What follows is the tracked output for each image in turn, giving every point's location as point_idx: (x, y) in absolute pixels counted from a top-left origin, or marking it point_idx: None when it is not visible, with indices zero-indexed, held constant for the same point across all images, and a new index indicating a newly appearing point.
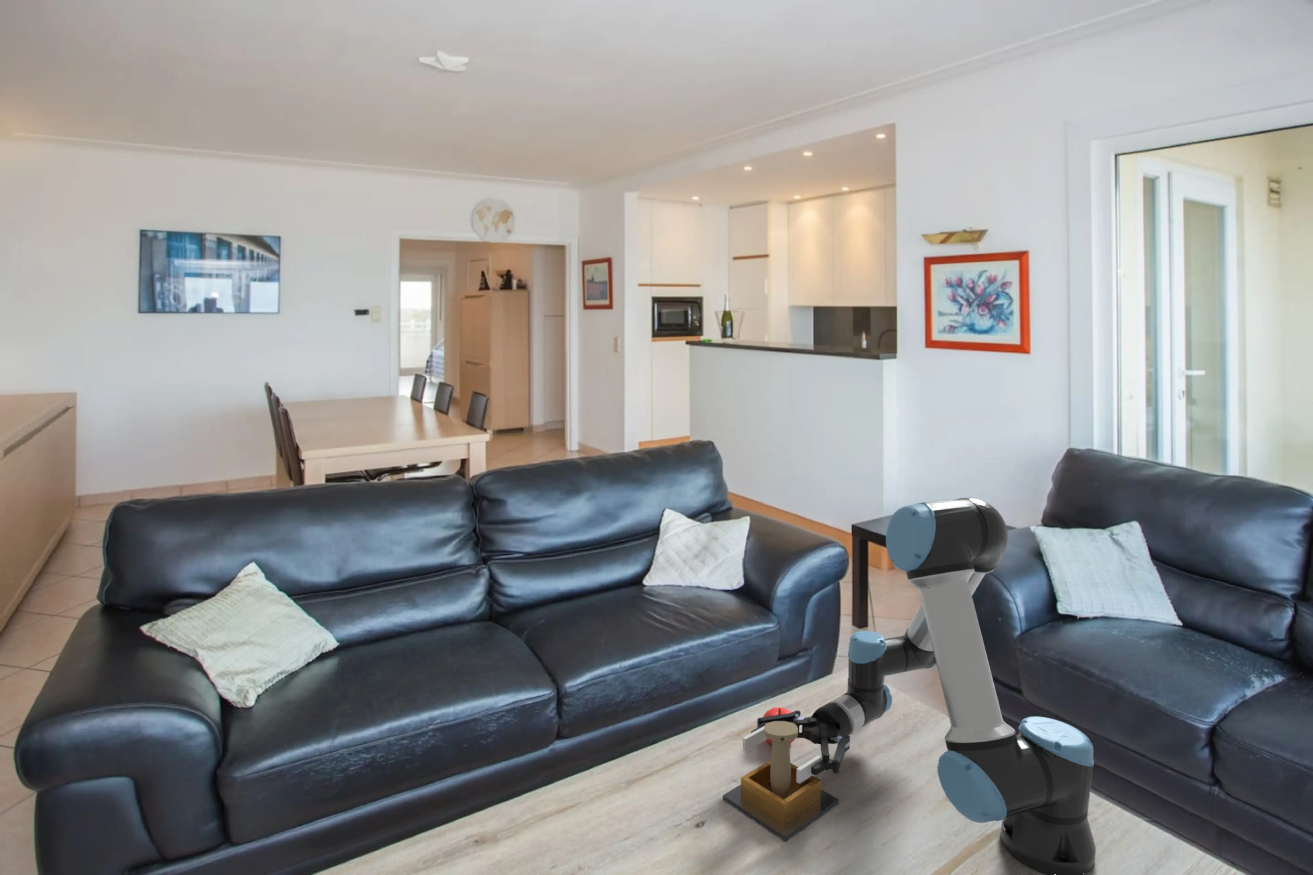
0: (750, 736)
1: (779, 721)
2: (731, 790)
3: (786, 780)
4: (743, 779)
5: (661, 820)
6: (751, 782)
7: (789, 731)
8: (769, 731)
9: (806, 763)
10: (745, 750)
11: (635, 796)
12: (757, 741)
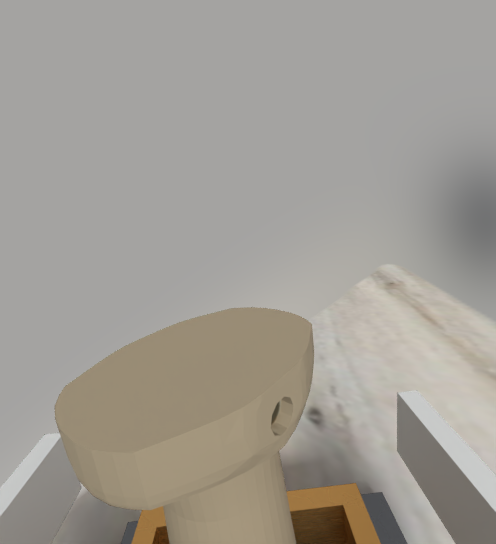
0: (420, 420)
1: (275, 378)
2: (399, 534)
3: None
4: (342, 486)
5: (356, 378)
6: (310, 496)
7: (125, 367)
8: (234, 314)
9: (6, 501)
10: (397, 445)
11: (444, 372)
12: (463, 532)
